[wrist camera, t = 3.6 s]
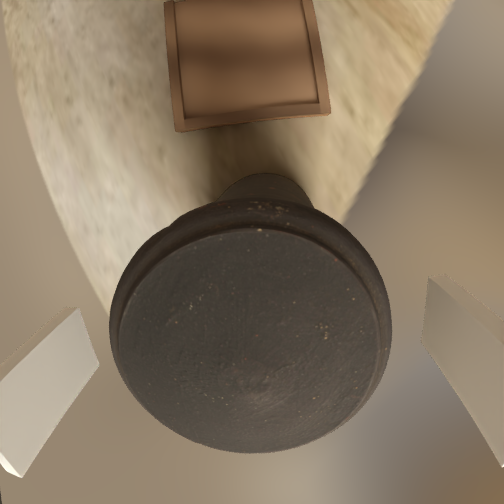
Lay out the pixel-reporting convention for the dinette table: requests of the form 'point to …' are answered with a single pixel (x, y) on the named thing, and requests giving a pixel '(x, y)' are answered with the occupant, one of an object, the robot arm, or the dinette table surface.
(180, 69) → the square wooden tray
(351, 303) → the container
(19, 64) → the dinette table surface
